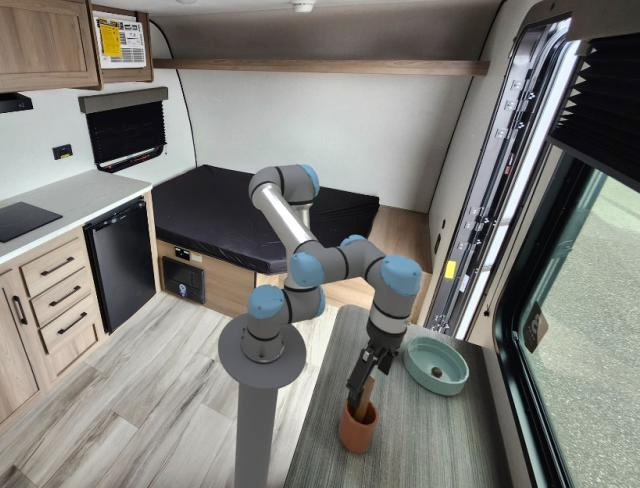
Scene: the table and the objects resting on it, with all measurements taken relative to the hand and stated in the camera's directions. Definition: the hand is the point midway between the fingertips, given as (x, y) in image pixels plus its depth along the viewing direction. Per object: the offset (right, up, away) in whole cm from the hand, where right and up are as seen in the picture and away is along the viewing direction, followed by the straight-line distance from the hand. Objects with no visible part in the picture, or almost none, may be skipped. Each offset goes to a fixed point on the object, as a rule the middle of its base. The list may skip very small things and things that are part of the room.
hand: (368, 387), depth 76 cm
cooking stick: (-1, -18, +8) cm, 20 cm away
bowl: (+32, -12, +27) cm, 43 cm away
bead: (+32, -11, +24) cm, 41 cm away
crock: (-1, -18, +8) cm, 20 cm away
